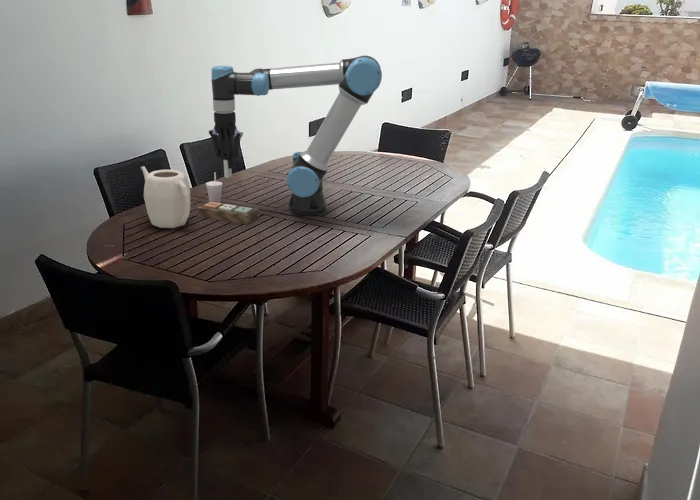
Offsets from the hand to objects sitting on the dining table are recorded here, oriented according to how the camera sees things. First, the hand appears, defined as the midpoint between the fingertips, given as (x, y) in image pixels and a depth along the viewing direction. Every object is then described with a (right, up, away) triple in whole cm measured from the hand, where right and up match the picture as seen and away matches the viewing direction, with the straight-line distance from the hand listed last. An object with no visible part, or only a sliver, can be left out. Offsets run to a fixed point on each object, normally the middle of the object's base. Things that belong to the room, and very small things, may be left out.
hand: (228, 176), depth 223 cm
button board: (-1, -15, +6) cm, 16 cm away
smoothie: (-8, -10, +17) cm, 21 cm away
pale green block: (+5, -15, +4) cm, 16 cm away
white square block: (-1, -14, +6) cm, 15 cm away
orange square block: (-7, -13, +8) cm, 17 cm away
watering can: (-21, -17, -3) cm, 28 cm away
